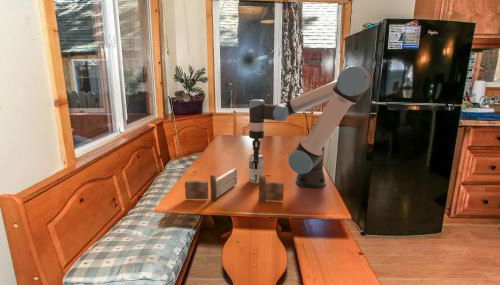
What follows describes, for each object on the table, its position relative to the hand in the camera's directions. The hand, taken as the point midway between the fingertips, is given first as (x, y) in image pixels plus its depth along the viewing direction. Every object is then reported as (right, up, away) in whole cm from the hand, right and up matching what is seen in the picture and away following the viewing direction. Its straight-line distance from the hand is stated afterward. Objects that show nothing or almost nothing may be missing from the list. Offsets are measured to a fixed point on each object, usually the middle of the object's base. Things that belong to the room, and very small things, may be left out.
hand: (256, 170), depth 154 cm
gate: (-15, -8, -12) cm, 21 cm away
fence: (-10, -12, -21) cm, 26 cm away
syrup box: (0, -6, +2) cm, 6 cm away
